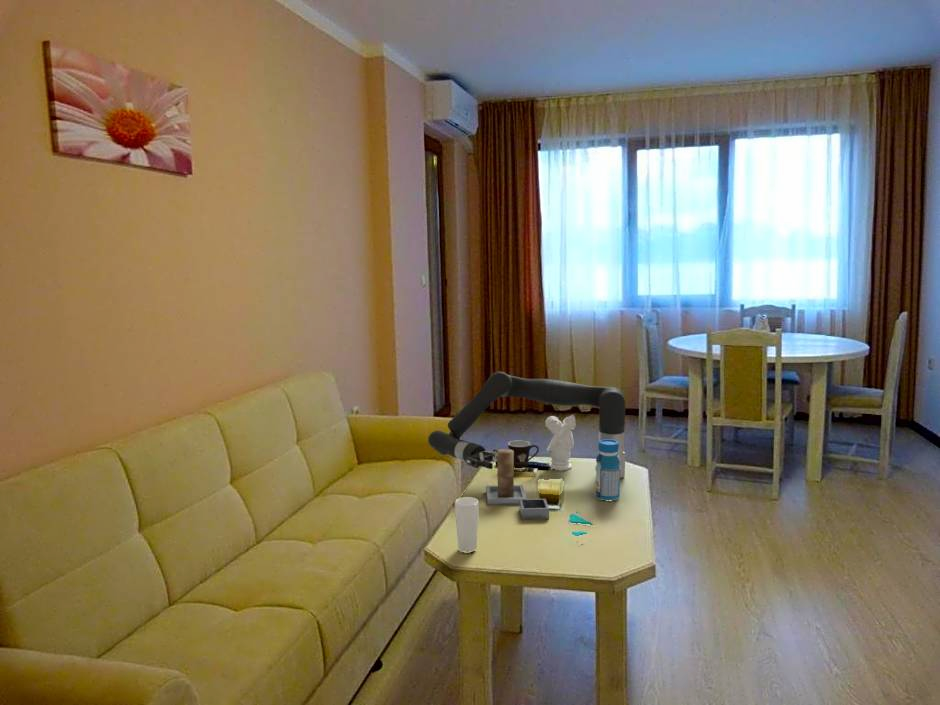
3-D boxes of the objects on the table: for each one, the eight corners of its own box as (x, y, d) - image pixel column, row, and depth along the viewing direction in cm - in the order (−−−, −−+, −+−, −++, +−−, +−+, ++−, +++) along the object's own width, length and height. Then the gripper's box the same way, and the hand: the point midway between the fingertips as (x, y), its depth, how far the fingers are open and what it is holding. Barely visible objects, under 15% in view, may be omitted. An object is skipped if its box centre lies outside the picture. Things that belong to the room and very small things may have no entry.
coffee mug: (506, 471, 268) (506, 446, 267) (509, 464, 277) (509, 439, 275) (537, 472, 266) (537, 447, 265) (538, 465, 275) (538, 441, 273)
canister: (513, 492, 243) (512, 448, 241) (514, 498, 238) (514, 453, 235) (497, 493, 243) (496, 449, 241) (498, 499, 238) (497, 454, 235)
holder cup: (545, 510, 230) (545, 498, 230) (549, 520, 222) (549, 508, 221) (519, 510, 230) (519, 499, 230) (522, 521, 222) (522, 509, 221)
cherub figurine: (542, 468, 272) (541, 413, 269) (557, 459, 282) (557, 406, 279) (570, 473, 265) (570, 417, 262) (585, 464, 275) (585, 410, 272)
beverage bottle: (609, 504, 235) (610, 447, 231) (589, 497, 241) (590, 441, 238) (625, 498, 240) (626, 442, 236) (605, 491, 246) (606, 436, 243)
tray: (522, 491, 247) (522, 484, 247) (526, 505, 234) (526, 498, 234) (486, 492, 247) (486, 485, 247) (487, 506, 234) (487, 499, 234)
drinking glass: (459, 557, 198) (458, 506, 195) (453, 547, 204) (452, 498, 202) (482, 553, 200) (481, 503, 197) (475, 543, 206) (474, 495, 204)
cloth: (596, 552, 201) (596, 544, 201) (550, 545, 206) (550, 538, 205) (609, 517, 225) (610, 510, 225) (567, 512, 230) (567, 505, 230)
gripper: (454, 446, 247) (485, 457, 235) (484, 438, 256) (515, 448, 244) (454, 467, 248) (485, 478, 236) (484, 458, 257) (515, 469, 245)
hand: (500, 463), depth 240 cm, fingers open, 8 cm apart
